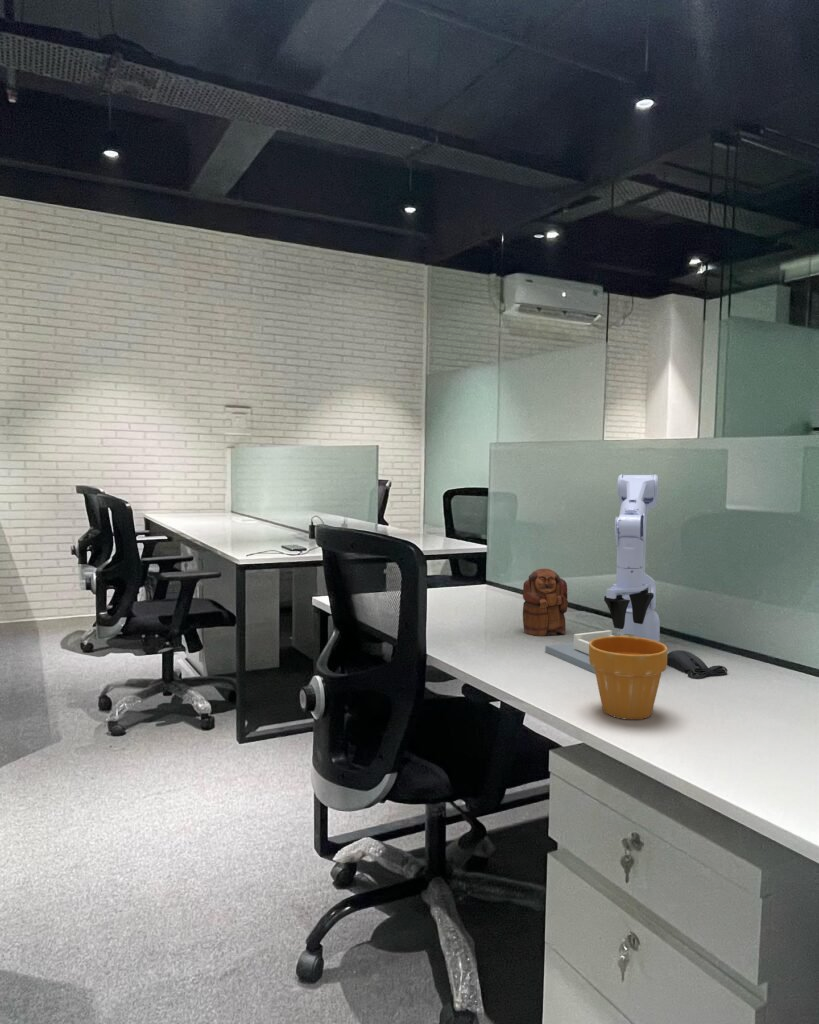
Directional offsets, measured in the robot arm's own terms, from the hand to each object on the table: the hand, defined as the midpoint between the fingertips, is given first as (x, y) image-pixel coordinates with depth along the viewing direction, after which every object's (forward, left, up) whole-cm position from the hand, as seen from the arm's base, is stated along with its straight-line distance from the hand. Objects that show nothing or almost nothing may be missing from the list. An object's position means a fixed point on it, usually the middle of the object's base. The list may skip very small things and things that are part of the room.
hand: (628, 625), depth 164 cm
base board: (+2, -7, -10) cm, 12 cm away
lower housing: (0, -9, -8) cm, 12 cm away
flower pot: (+20, +23, -10) cm, 32 cm away
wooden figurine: (-1, -36, -10) cm, 37 cm away
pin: (0, 0, -8) cm, 8 cm away
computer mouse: (-13, +6, -10) cm, 18 cm away
